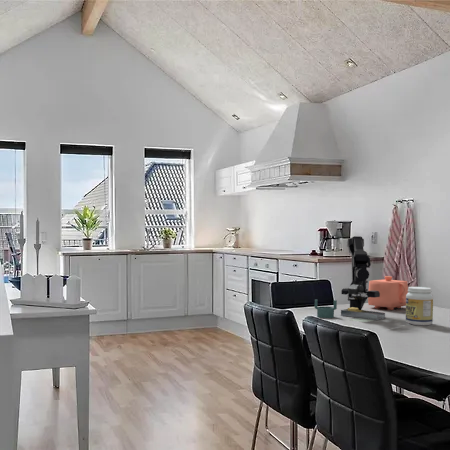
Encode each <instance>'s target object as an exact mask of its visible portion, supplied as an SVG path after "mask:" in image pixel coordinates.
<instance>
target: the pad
mask: <svg viewBox="0 0 450 450" xmlns="http://www.w3.org/2000/svg"><path fill="white" fill-rule="evenodd" d="M350 321H352V322H359V323H368V322H374V321H375V320H372V319H364V318H357V317H355V318H352V319H350Z"/></svg>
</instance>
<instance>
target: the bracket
mask: <svg viewBox="0 0 450 450" xmlns="http://www.w3.org/2000/svg"><path fill="white" fill-rule="evenodd" d="M337 301H338V300H336V299H334V300H333V306H323V305H322V306H318V299H314V309H315V310H316V311H317V312H316V318H321V319H332V318H335V310H337V309H338V308H337V305H338V303H337Z"/></svg>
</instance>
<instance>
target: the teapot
mask: <svg viewBox="0 0 450 450" xmlns="http://www.w3.org/2000/svg"><path fill="white" fill-rule="evenodd" d="M408 284H409V283H408V280H399V279H397V280H396V279H393V276H390V275H385V276H384V279H373V280H368V291H372V290H373V291H379V293H380V297H368V298H367V303H368V304H367V305H368V306H374V309H381V308H386V310H387V311H394V310H395V309H396V308H402V309H403V307H406V295H407V293H409V291H408V287H409V285H408ZM394 308H395V309H394Z"/></svg>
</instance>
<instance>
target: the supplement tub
mask: <svg viewBox="0 0 450 450" xmlns="http://www.w3.org/2000/svg"><path fill="white" fill-rule="evenodd" d="M433 321H434V296H433V294H432V287H428V286H427V287H426V286H408V293H407V295H406V306H405V322H406V323H408V324H409V325H413V326H431V325H432V324H433Z"/></svg>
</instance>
